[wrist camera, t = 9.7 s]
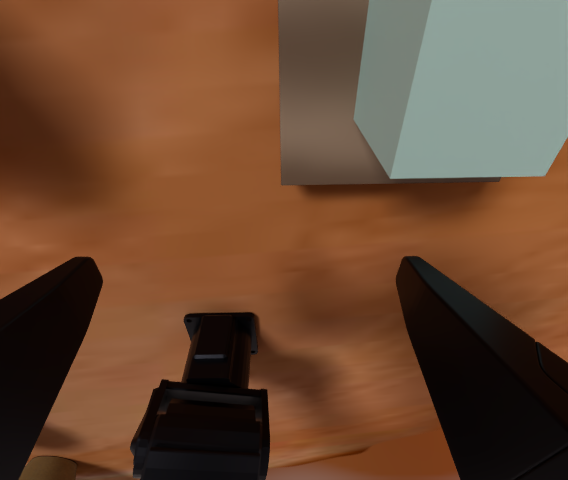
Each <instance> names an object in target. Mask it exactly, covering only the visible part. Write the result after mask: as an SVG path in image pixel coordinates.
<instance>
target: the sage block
mask: <svg viewBox="0 0 568 480" xmlns="http://www.w3.org/2000/svg"><path fill="white" fill-rule="evenodd" d="M354 121H355V123H356V124H357V126H358V128H359V129H360V131H361V133H362V134H363V136H364V137H365V139H366V141H367V142H368V144H369V145H370V147H371V149H372V150H373V152H374V154H375V155H376V157H377V158H378V160H379V162H380V163H381V165H382V166H383V168H384V170H385V171H386V173H387V175H388V176H389V178H390V179H404V178H463V177H522V176H545V175H546V173H547V171H548V169H549V168H550V166H551V164H552V163H553V161H554V159H555V158H556V156H557V154H558V152H559V151H560V149H561V147H562V146H563V144H564V142H565V140H566V139H567V137H568V0H369V5H368V13H367V21H366V28H365V36H364V43H363V51H362V59H361V66H360V74H359V81H358V89H357V97H356V104H355V112H354Z"/></svg>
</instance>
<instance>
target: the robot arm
mask: <svg viewBox="0 0 568 480" xmlns="http://www.w3.org/2000/svg"><path fill="white" fill-rule="evenodd" d="M102 284H103V279H102V275H101V273H100V271H99V269H98V267H97V265H96V263H95V261H94V260H93V259H92V258H91V257H74V258H72V259H70V260H69V261H67V262H65V263H63V264H62V265H60V266H58V267H56V268H55V269H53V270H51V271H49V272H48V273H46V274H44V275H42V276H41V277H39V278H37V279H35V280H34V281H32V282H30V283H28V284H27V285H25V286H23V287H21V288H20V289H18V290H16V291H14V292H13V293H11V294H9V295H7V296H6V297H4V298H2V299H0V480H19V478H20V476H21V474H22V471H23V469H24V467H25V465H26V463H27V461H28V458H29V456H30V454H31V452H32V450H33V448H34V445H35V443H36V441H37V439H38V437H39V435H40V432H41V430H42V428H43V426H44V424H45V422H46V419H47V417H48V415H49V413H50V411H51V409H52V406H53V404H54V402H55V400H56V398H57V396H58V393H59V391H60V389H61V387H62V385H63V383H64V380H65V378H66V376H67V374H68V372H69V370H70V367H71V365H72V363H73V361H74V359H75V357H76V354H77V352H78V350H79V348H80V346H81V344H82V341H83V339H84V337H85V334H86V332H87V329H88V327H89V324H90V321H91V318H92V315H93V312H94V309H95V306H96V303H97V300H98V297H99V294H100V291H101V288H102ZM396 285H397V290H398V294H399V298H400V303H401V307H402V311H403V315H404V320H405V324H406V328H407V331H408V334H409V337H410V340H411V343H412V346H413V348H414V351H415V354H416V357H417V360H418V362H419V365H420V368H421V371H422V374H423V376H424V379H425V382H426V385H427V388H428V390H429V393H430V396H431V399H432V402H433V404H434V407H435V410H436V413H437V416H438V418H439V421H440V424H441V427H442V430H443V432H444V435H445V438H446V441H447V444H448V446H449V449H450V452H451V455H452V458H453V460H454V463H455V466H456V469H457V471H458V474H459V477H460V480H568V362H566V361H565V360H563V359H562V358H560V357H559V356H557V355H556V354H555V353H553V352H552V351H550V350H549V349H548V348H546V347H545V346H543V345H542V344H541V343H539V342H535V339H533V338H532V337H531V336H529V335H528V334H526V333H525V332H524V331H522V330H521V329H519V328H518V327H517V326H515V325H514V324H512V323H511V322H510V321H508V320H507V319H505V318H504V317H503V316H501V315H500V314H498V313H497V312H496V311H494V310H493V309H491V308H490V307H489V306H487V305H486V304H484V303H483V302H482V301H480V300H479V299H477V298H476V297H475V296H473V295H472V294H470V293H469V292H468V291H466V290H465V289H463V288H462V287H461V286H459V285H458V284H457V283H455V282H454V281H452V280H451V279H450V278H448V277H447V276H445V275H444V274H443V273H441V272H440V271H438V270H437V269H436V268H434V267H433V266H431V265H430V264H429V263H427V262H426V261H424V260H423V259H422V258H420V257H418V256H405V257H404V258H403V259H402V261H401V264H400V267H399V270H398V273H397V276H396ZM184 323H185V326H186V329H187V331H188V334H189V337H190V340H191V345H190V349H189V353H188V357H187V361H186V365H185V369H184V373H183V377H182V381H181V382H172V381H169V380H164V379H162V380H161V383H160V386H159V387H158V388H156V389H153V392H152V395H151V399H150V402H149V405H148V408H147V410H146V413H145V415H144V417H143V419H142V421H141V423H140V425H139V427H138V429H137V431H136V433H135V435H134V437H133V440H132V442H131V446H130V450H131V452H132V454H133V455H134V462H133V464H134V468H133V478H141V479H140V480H265V479H266V476H267V470H268V463H269V452H270V430H269V412H268V394H267V389H261V390H256V389H248V384H249V370H250V357H251V355H253V354H257V353H258V345H257V336H256V328H255V319H254V315H253V314H252V313H216V314H187V315H185V317H184Z"/></svg>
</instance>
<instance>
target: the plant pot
mask: <svg viewBox="0 0 568 480" xmlns="http://www.w3.org/2000/svg"><path fill="white" fill-rule="evenodd" d="M76 469H77V465H76V463H74V462H73V461H71V460H68V459H65V458H60V457H53V456H40V457H35V458H33V459H32V460H31V461H30V462H29V463H28V464H27V465H26V466H25V467H24V469H23V471H22V474H21V476H20V478H19V480H75V478H76Z"/></svg>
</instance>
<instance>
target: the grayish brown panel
mask: <svg viewBox="0 0 568 480" xmlns="http://www.w3.org/2000/svg"><path fill="white" fill-rule="evenodd" d="M368 5H369V0H278V19H279V79H280V139H281V185H330V184H391V183H453V182H499V181H500V179H501V177H463V178H404V179H390V178H389V176H388V175H387V173H386V171H385V170H384V168H383V166H382V165H381V163H380V162H379V160H378V158H377V157H376V155H375V154H374V152H373V150H372V149H371V147H370V145H369V144H368V142H367V141H366V139H365V137H364V136H363V134H362V133H361V131H360V129H359V128H358V126H357V124H356V123H355V121H354V112H355V104H356V97H357V89H358V81H359V74H360V66H361V59H362V51H363V43H364V36H365V28H366V21H367V13H368Z"/></svg>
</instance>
